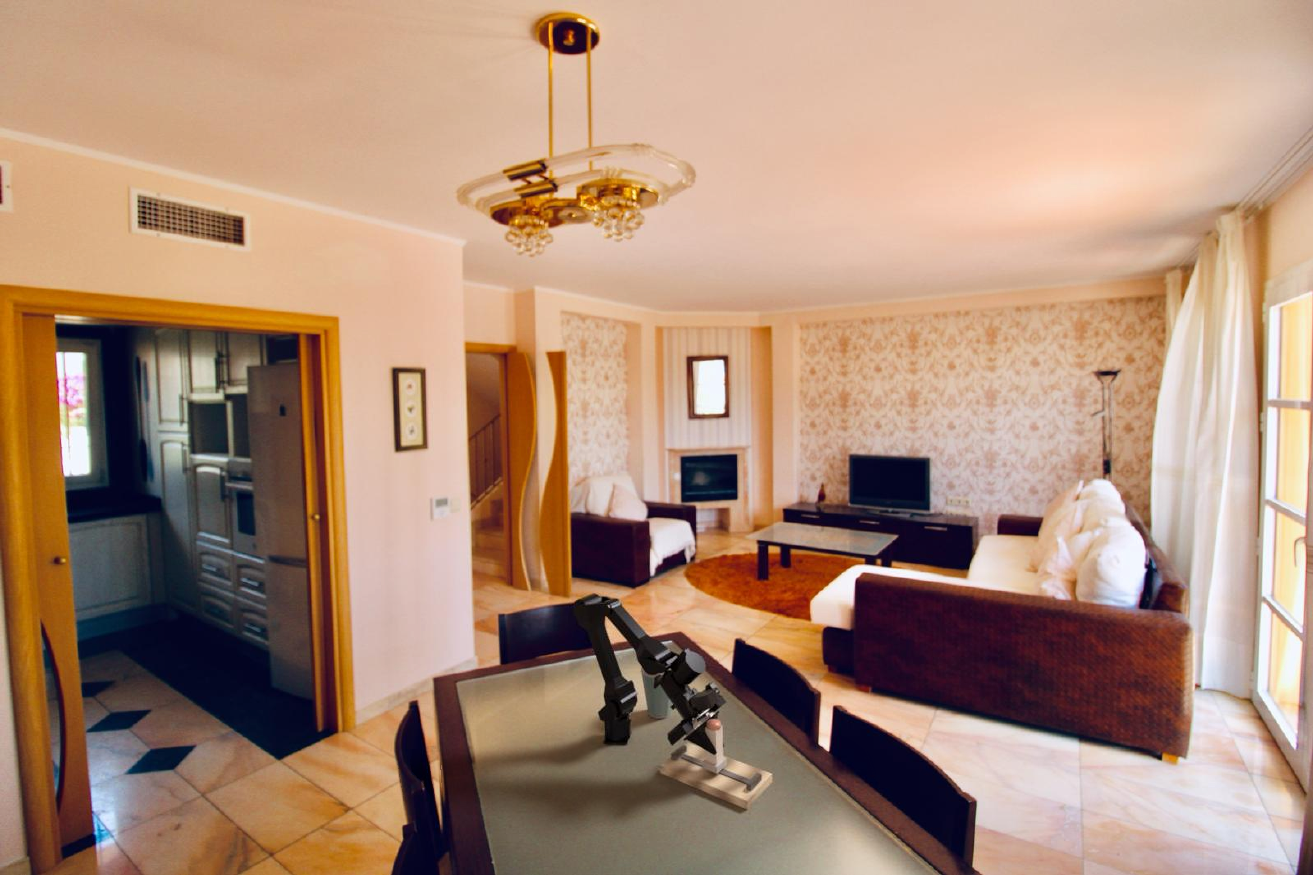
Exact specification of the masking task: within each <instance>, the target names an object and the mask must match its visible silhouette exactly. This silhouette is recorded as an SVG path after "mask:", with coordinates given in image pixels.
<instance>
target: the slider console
mask: <svg viewBox="0 0 1313 875" xmlns="http://www.w3.org/2000/svg"><path fill="white" fill-rule="evenodd" d="M723 757H725V758H727V765H726V766H725V767H724V768H723V769H722V770H721V771H720V772H719V773H718V774H716V773H714V772H711V771H709V770H706V769H704V768H703V761H704V760H705V759H706V750H704V749H703V748H701V747H699V746H698V745H696V744H694V743H692V742H686V743H685V744H681V745H680V746H679V747H678V748H676V749H675V750H674V751H673V752H671V754H670V756H669V757H668V758H667V759H666V760H664V761H663V762H662V763H661V764H659V773H660V774H661V775H664V776H666V777H669V778H671V779H674V780H676V781H679V782H681V783H683V784H685V785H688V786H691V787H693V788H695V789H697V790H700V791H702V792H704V793H707V794H709V795H712V796H713V797H717V798H719V799H721V800H723V801H725V802H728V803H730V804H732V805H736V806H737V807H740V808H743V809H744V810H749V809H750V807H752V805H753V804H754V803H755V802H756V801H757V800H758V798H760V797H761V795H762V794H763V793H764V792H765V791H766V790H767V788H769V786H770V785H771V784H772V783H773V773H770V772H769V771H766V770H763V769H760V768H758V767H755V766H754V765H753V766H752V765H749V764H747V763H744V762H742V761H738V760H737V759H733V758H731V757H729V756H725V755H723Z"/></svg>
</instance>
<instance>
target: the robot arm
mask: <svg viewBox="0 0 1313 875" xmlns="http://www.w3.org/2000/svg"><path fill="white" fill-rule="evenodd" d="M572 612H573V615H574V617H575V619H576V621H577V623H578V625H579V626H581V627H582V628H583V629H584V630H585V631H586V632H587V634H588V638H589V641H590V644H591V646H592V649H593V653H594V655H595V658H596V661H597V664H598V667H599V669H600V672H601V676H602V678H603V681H604V690H603V700H604V703H605V704H604V705H603V706H602V707H601V709H599V710H598V712H597V714H598V718H599V721H601V722H603V723H604V724H603V725H604V726H603V727H604V739H603V741H602V743H603V744H607V745H628V743H629V740H631V736H632V733H633V732H632V719H631V718H630V713H633V711H634V709H635V707H636V706H637V703H638V700H639V699H638V695H639V694H638V692H637V689H636V687H635V683H634V682H633V680H627V678H625V677H624V675H623V674H622V671H621V668H620V666H619V662H618V659H617V657H616V654H615V651H614V648H613V645H612V641H611V640H610V636H609V633H608V631H607V628H606V625H605V623H606V618H607V619H608V620H609V621H610V622H611V624H612V625H613V626H614V627H615V628H616V630H617V631H618V632H619V633H620V634H621V636H622V637H623V638H625V640H626V641H627V642H628V644H630V646H631V647H632V648H633V650H634V651H635V656H636V660H637V662H638V664H639V665H640V667H641V668H643V670H644V671H645V672H646V673H647V674H648V675H656V674H658V673H663V674H662V675H660V674H659V675H657V676H656V677H654V689H656V688H657V687H659V686H661V688H662V689H663V690H664V692H665V693H666V695H667V696H668V698H669V699H670V701H671V702H672V706H671V711H674V710H675V709H676V711H677V712H678V714H679V716H680V717H681V718H682V720H680V722H679V723H677V724H676V725H675V726H674V727H673V728H672V729H671V730H670V731H668V732H667V733H666V735H667V737H666V738H667V741H668V742H669V744H670V745H671V746H672V747H673V746H674V745H675V744H676V743H678V742H679V741H680V740H681V739H682V738H683V737H684V736H685V737H684V738H683V741H684V742H686V741H688V742H689V743H691V744H693V745H696V746H699V747H701V748H703V749H704V750H706V751H708V752H709V753H711V754H713V755H715V754H716V753H717V751H716V749H715V747H714V746H713V744H712V742H711V741H710V739H709V738H708V736H707V735H706V733H705V727H707V721H708V720H710V719H717V720H718V716H719V714H720V710H719V709H721V707H722V706H723V705H725V704H726V703H727V700H726V699H725V698H724V696H723V695H720V693H721V690H720V689H719V687H718V686H717V685H716V684H715V682H714V681H713V682H709V683H708V684H706V685H705V686H704V687H705V688H704V689H703V690H702V691H699V690H698V689H697V688H695V687H693V688H691V687H690V686H689V685H691V684H692V683H693V682H695V680H697V678H699V676H701V675H702V674H703V673H704V672H705V671H706V669H707V668H706V667H707V665H706V662H705V659H704V657H702V656H701V655H700V654H698V653H697V652H695V651H692V650H690V648H689V647H686V648H684V649H683V650H682V651H681V652H680V653H677V652H674V651H672V650H670V649H669V647H667V646H666V645H665V644H664V643H663V642H661V641H660V640H659V639H656V638H653V637H651V636H650V635H649V634H648V633H647V631H645V630H644V629H643V627H641V625H640V624H639V623H638V622H637V620H635V618H634V617H633V616H632V615H631V614H630V613H629V611H627V609H626V608H625V607H624V606H623V604H622V601H621V600H620V599H619V598H615V597H610V596H607V595H603V596H602V595H599V594H597V593H595V592H594V593H591V594H589V595H586V596H583V597H581V598H577V599H576V600H575V601H574V602H573V606H572ZM668 669H671V670H668ZM699 722H700V723H701V724H700V723H699ZM724 747H725V743H724V742H723V748H724Z"/></svg>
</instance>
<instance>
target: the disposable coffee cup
mask: <svg viewBox="0 0 1313 875" xmlns="http://www.w3.org/2000/svg"><path fill="white" fill-rule="evenodd" d="M668 670H671V669H668ZM640 673H641V678H642V684H643V689H644V695H645V701H646V708H647V713H648V714H649V716H650V717H651V718H654V719H658V720H659V719H665V718H668V717H670V715H671V714H672V713H671V712H672V709H671V706H672V705H673V704H672V702H671V701H670V699H669V698H668V696H667V695H666V693H665V692H664V690H663V689H662V688H661V686H659V687H657V688H656V689H654V677H656V676H657V675H659V674H660V675H662V674H663V673H658V674H656V675H648V674H647V673H646V672H645V671H644V670H643V668H642V667H641V669H640Z"/></svg>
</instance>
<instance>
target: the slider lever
mask: <svg viewBox="0 0 1313 875" xmlns="http://www.w3.org/2000/svg"><path fill="white" fill-rule="evenodd" d="M723 728H724V727H723V725H722V722H721V721H720V720H719V719H718V718H717V719H710V720H708V721H707V727H705V733H706V735H707V736H708V738H709V739H710V741H711V742H712V744H713V746H714V747H715V749H716V751H717V753H716V754H715V755H713V754H711V753H709V752H708V751H706V759H705V760H704V761H703V768H704V769H706V770H709V771H711V772H714V773H716V774H718V773H719V772H720V771H721V770H722V769H723V768H724V767H725V766H726V765H727V758H725V757H723V756H724V747H723V743H724V733H723Z"/></svg>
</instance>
